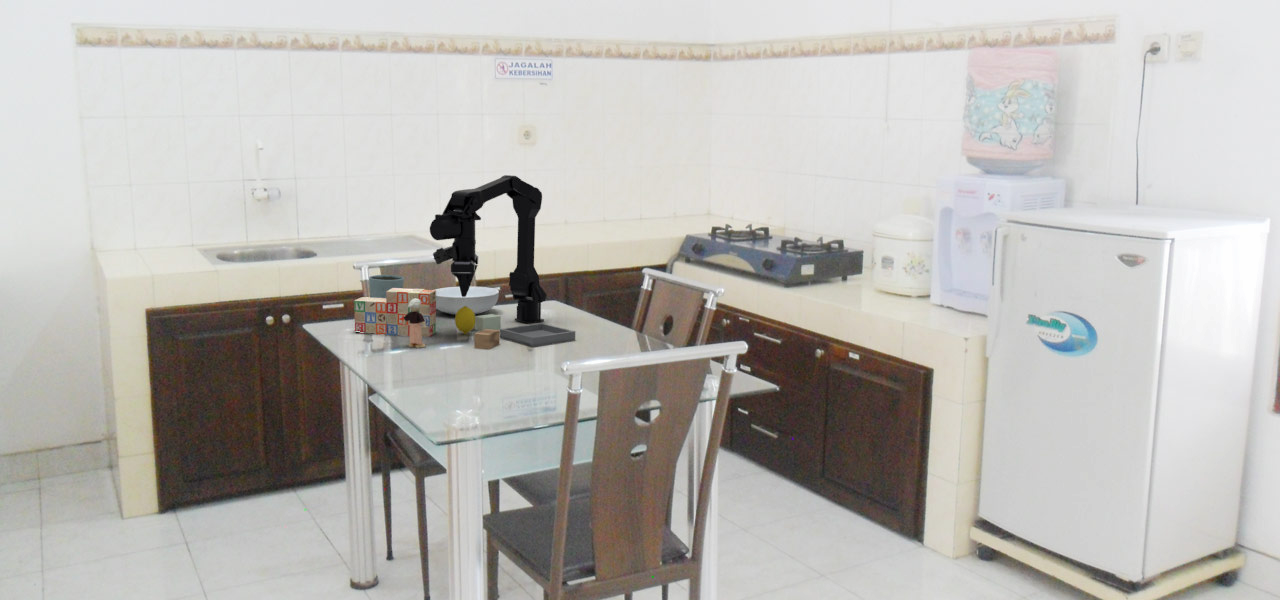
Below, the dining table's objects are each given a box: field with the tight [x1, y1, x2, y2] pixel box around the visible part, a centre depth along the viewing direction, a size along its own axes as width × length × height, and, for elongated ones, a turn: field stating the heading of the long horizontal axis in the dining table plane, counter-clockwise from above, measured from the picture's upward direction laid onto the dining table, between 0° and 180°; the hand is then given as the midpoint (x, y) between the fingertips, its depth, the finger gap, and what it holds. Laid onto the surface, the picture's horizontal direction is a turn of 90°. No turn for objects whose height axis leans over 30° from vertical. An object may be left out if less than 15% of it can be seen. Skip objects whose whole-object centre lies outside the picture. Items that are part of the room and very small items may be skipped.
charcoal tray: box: [500, 322, 576, 348], centre depth 295 cm, size 15×15×2 cm
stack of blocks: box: [353, 287, 437, 338], centre depth 298 cm, size 21×6×12 cm, turn 84°
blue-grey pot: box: [368, 274, 405, 298], centre depth 320 cm, size 10×10×12 cm
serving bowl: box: [435, 285, 500, 316], centre depth 330 cm, size 21×21×7 cm
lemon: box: [454, 306, 476, 335], centre depth 298 cm, size 6×6×8 cm
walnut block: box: [473, 329, 501, 350], centre depth 284 cm, size 7×4×4 cm, turn 163°
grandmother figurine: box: [403, 298, 426, 349], centre depth 281 cm, size 8×4×13 cm, turn 71°
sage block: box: [474, 313, 502, 332], centre depth 306 cm, size 6×4×4 cm, turn 133°
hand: (465, 293), depth 297 cm, fingers open, 9 cm apart
